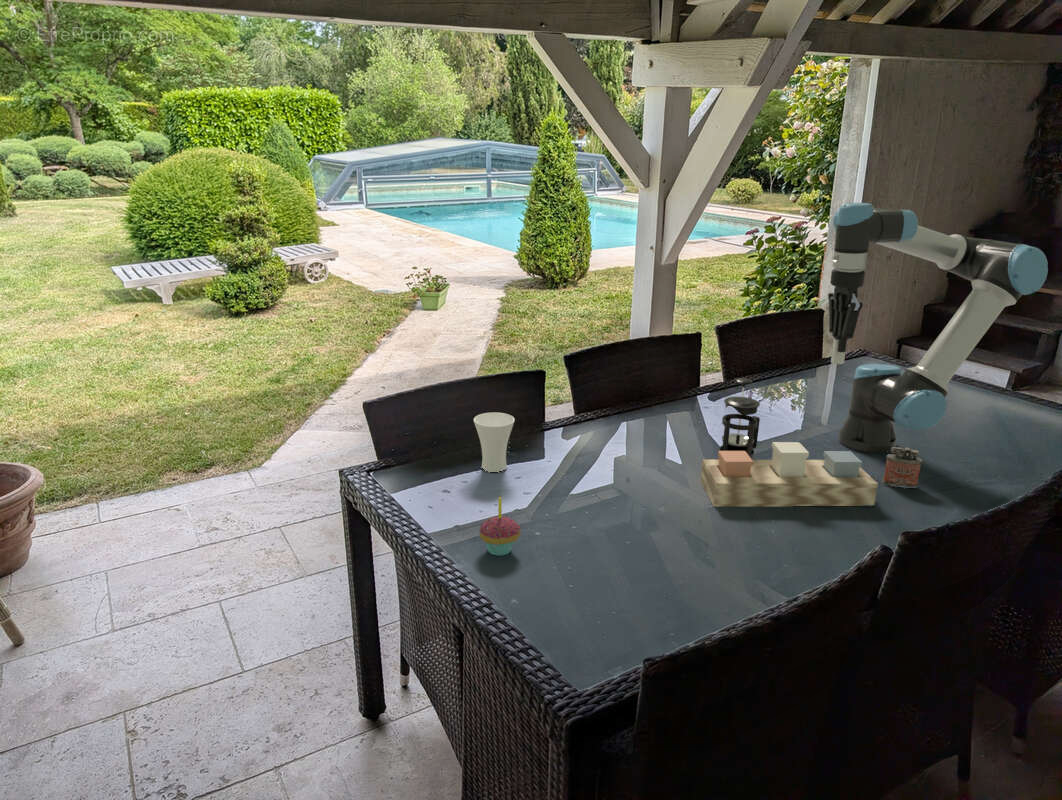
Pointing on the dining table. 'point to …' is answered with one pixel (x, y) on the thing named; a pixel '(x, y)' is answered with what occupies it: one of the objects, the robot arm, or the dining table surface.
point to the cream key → (789, 459)
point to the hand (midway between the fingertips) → (837, 363)
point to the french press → (738, 440)
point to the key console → (786, 487)
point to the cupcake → (499, 533)
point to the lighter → (902, 467)
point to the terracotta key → (734, 463)
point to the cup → (494, 439)
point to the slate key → (841, 463)
